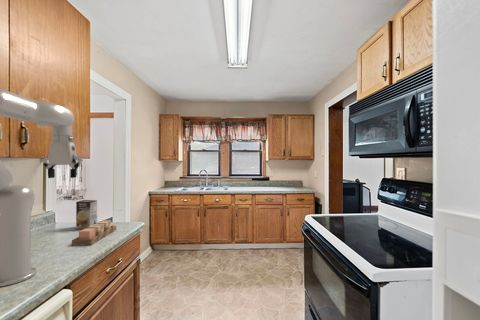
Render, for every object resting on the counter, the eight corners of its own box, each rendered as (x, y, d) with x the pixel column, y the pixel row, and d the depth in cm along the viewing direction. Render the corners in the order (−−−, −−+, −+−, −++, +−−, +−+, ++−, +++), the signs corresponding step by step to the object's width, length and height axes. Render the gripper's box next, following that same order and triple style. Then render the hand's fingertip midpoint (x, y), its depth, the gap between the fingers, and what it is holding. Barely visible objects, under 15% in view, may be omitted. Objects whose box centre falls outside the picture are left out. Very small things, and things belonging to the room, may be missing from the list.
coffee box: (75, 229, 141) (75, 201, 141) (83, 226, 148) (83, 199, 148) (90, 229, 140) (89, 201, 140) (97, 226, 147) (97, 200, 147)
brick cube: (89, 241, 116) (89, 231, 116) (78, 241, 116) (78, 231, 116) (95, 238, 121) (95, 228, 121) (85, 238, 121) (85, 228, 121)
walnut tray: (91, 245, 114) (91, 232, 114) (71, 245, 113) (71, 232, 113) (116, 229, 139) (116, 219, 139) (100, 230, 138) (100, 219, 138)
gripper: (86, 140, 113) (86, 177, 113) (48, 140, 112) (49, 177, 112) (76, 139, 106) (76, 178, 106) (35, 139, 105) (36, 178, 105)
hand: (62, 177), depth 109 cm, fingers open, 9 cm apart
